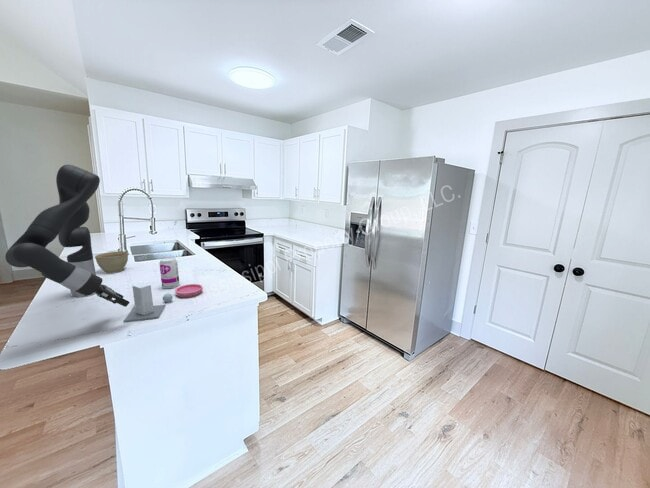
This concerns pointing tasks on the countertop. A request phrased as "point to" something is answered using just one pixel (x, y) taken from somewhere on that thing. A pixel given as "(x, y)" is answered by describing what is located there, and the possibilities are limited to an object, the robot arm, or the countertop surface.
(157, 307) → the slate coaster
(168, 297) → the grey ball
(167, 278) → the supplement can
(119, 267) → the planter bowl
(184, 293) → the saucer
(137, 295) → the skincare box
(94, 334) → the countertop surface
